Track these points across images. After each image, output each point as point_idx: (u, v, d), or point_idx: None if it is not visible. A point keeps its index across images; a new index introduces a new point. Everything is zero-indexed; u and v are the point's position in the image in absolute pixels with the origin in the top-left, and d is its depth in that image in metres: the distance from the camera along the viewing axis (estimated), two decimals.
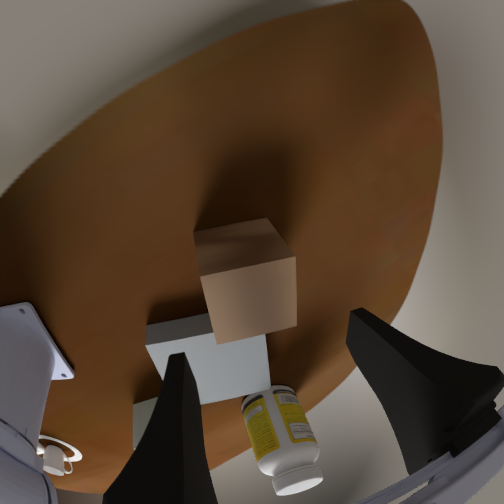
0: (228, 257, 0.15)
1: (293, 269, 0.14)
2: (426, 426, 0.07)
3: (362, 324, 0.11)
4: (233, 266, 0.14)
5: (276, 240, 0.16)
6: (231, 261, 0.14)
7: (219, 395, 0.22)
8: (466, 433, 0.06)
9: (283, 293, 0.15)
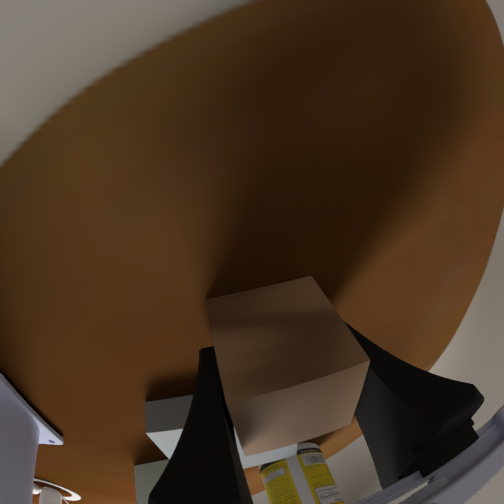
0: (267, 361, 0.09)
1: (363, 374, 0.09)
2: (395, 443, 0.07)
3: None
4: (277, 384, 0.08)
5: (335, 325, 0.10)
6: (273, 371, 0.09)
7: None
8: (438, 453, 0.06)
9: (343, 400, 0.09)
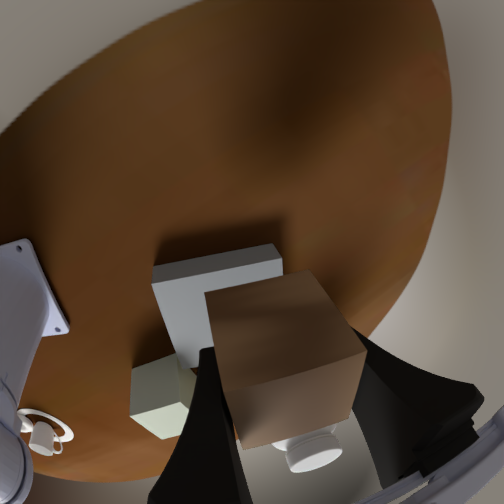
0: (265, 352, 0.09)
1: (360, 365, 0.09)
2: (396, 443, 0.07)
3: None
4: (275, 373, 0.08)
5: (333, 317, 0.10)
6: (271, 361, 0.09)
7: None
8: (438, 453, 0.06)
9: (341, 393, 0.09)
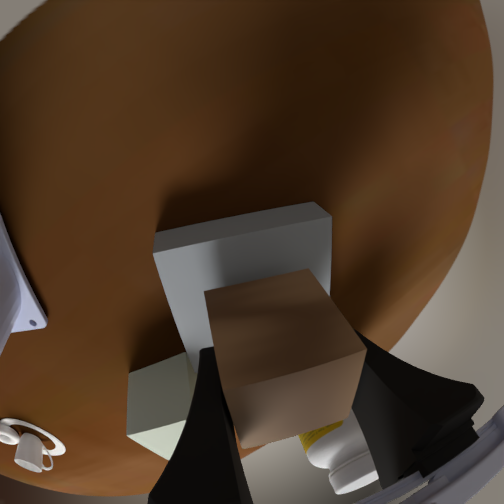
0: (264, 350, 0.09)
1: (360, 364, 0.09)
2: (395, 443, 0.07)
3: None
4: (274, 372, 0.08)
5: (332, 315, 0.10)
6: (270, 360, 0.09)
7: None
8: (438, 453, 0.06)
9: (340, 391, 0.09)
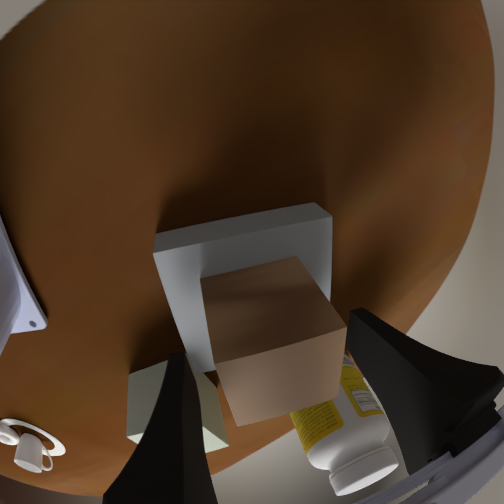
0: (252, 328, 0.10)
1: (342, 341, 0.10)
2: (426, 426, 0.07)
3: (362, 324, 0.11)
4: (260, 347, 0.09)
5: (316, 297, 0.11)
6: (257, 337, 0.10)
7: None
8: (466, 433, 0.06)
9: (326, 369, 0.10)
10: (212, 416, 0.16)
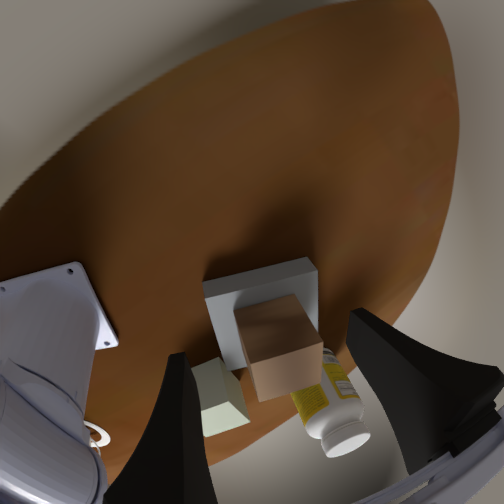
0: (270, 343, 0.18)
1: (321, 349, 0.17)
2: (426, 426, 0.07)
3: (362, 324, 0.11)
4: (275, 354, 0.17)
5: (306, 323, 0.19)
6: (273, 348, 0.17)
7: None
8: (466, 433, 0.06)
9: (312, 365, 0.18)
10: (239, 400, 0.24)
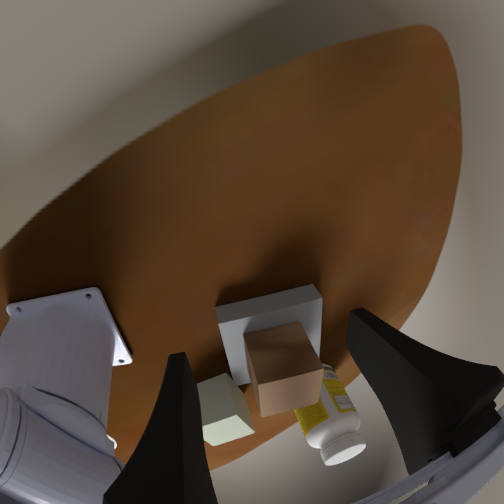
0: (276, 366, 0.19)
1: (321, 375, 0.19)
2: (426, 426, 0.07)
3: (362, 324, 0.11)
4: (280, 376, 0.18)
5: (309, 350, 0.20)
6: (279, 371, 0.19)
7: None
8: (466, 433, 0.06)
9: (312, 387, 0.19)
10: (244, 413, 0.25)
